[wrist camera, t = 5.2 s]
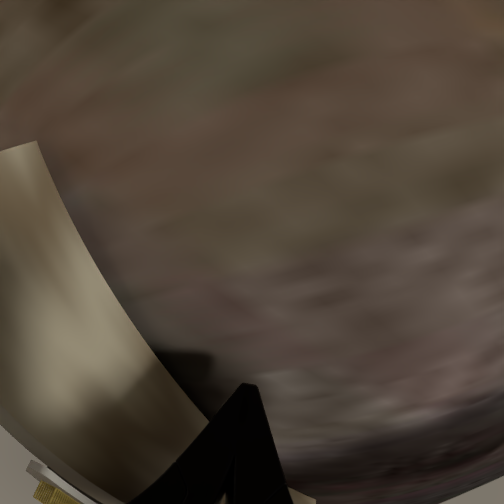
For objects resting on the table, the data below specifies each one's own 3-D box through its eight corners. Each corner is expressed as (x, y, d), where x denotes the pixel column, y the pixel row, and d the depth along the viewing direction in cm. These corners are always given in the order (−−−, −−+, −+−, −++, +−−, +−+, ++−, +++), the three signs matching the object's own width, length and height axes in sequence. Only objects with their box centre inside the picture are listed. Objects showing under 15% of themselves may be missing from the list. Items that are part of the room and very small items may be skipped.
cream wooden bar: (257, 469, 13) (246, 554, 8) (222, 471, 13) (206, 550, 9) (38, 139, 7) (-112, 198, 2) (5, 171, 7) (-118, 236, 3)
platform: (99, 479, 21) (80, 528, 16) (-20, 350, 14) (-68, 410, 8) (208, 503, 19) (195, 565, 13) (93, 368, 12) (28, 483, 6)
